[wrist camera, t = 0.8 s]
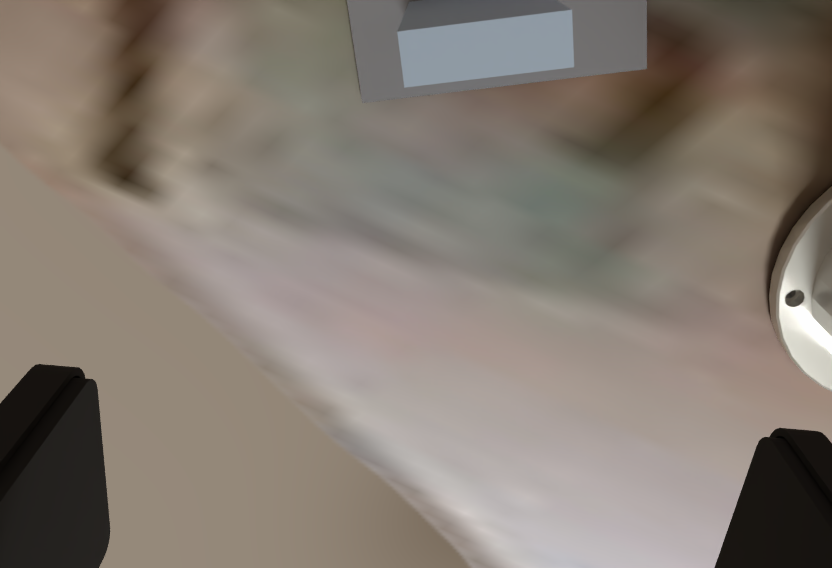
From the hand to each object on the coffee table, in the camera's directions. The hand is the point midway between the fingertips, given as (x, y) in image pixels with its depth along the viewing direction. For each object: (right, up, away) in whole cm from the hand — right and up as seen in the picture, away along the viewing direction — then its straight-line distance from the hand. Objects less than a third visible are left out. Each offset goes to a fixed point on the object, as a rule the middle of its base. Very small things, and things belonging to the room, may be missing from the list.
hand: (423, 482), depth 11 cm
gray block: (+2, +14, +21) cm, 25 cm away
